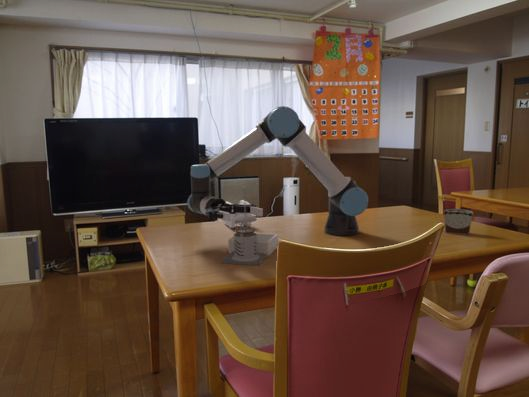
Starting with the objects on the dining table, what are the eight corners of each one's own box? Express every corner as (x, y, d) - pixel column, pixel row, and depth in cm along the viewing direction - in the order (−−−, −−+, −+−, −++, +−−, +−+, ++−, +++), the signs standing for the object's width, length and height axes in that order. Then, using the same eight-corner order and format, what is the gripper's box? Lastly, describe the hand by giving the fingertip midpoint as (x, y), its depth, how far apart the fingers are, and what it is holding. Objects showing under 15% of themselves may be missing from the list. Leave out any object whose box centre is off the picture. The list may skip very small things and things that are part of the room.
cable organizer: (252, 228, 200) (251, 203, 198) (230, 230, 196) (229, 205, 195) (243, 222, 214) (242, 199, 212) (222, 223, 210) (222, 200, 209)
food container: (472, 232, 188) (473, 209, 186) (472, 235, 182) (474, 212, 181) (442, 229, 193) (443, 207, 192) (441, 232, 188) (442, 210, 186)
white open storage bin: (278, 246, 166) (278, 234, 165) (268, 256, 153) (268, 242, 152) (241, 244, 170) (241, 231, 170) (228, 252, 158) (228, 239, 157)
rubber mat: (267, 256, 152) (267, 253, 152) (257, 265, 142) (257, 262, 142) (233, 253, 156) (233, 251, 156) (221, 262, 146) (221, 259, 146)
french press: (237, 262, 142) (235, 188, 138) (226, 254, 152) (224, 184, 149) (264, 259, 146) (263, 186, 142) (251, 251, 156) (250, 183, 153)
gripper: (240, 212, 170) (274, 221, 154) (184, 220, 155) (215, 230, 139) (240, 194, 169) (274, 200, 153) (183, 200, 154) (214, 208, 137)
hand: (246, 214), depth 145 cm, fingers open, 13 cm apart
